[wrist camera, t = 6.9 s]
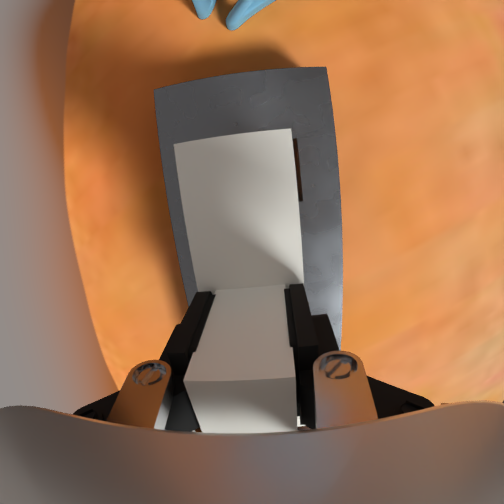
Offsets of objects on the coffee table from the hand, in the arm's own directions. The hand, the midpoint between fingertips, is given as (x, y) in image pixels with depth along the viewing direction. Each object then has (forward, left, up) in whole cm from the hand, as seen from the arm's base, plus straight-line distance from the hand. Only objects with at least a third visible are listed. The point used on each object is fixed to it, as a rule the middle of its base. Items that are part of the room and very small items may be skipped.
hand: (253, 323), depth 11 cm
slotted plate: (0, 0, -11) cm, 11 cm away
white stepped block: (0, 0, -6) cm, 6 cm away
